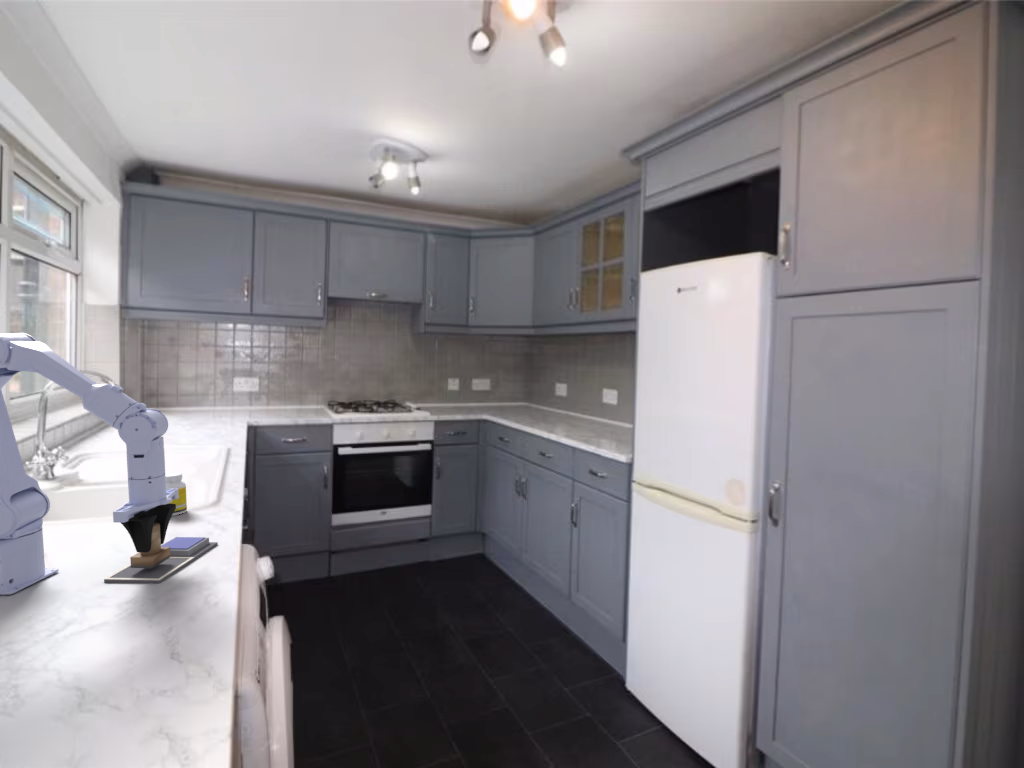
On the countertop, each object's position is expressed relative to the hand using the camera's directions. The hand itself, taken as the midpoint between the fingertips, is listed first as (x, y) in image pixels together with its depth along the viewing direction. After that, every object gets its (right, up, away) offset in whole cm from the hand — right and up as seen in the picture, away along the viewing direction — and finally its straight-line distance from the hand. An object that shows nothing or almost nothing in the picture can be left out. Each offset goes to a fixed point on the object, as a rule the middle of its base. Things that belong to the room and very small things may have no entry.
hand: (150, 547), depth 99 cm
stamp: (0, -3, 0) cm, 3 cm away
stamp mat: (0, -4, +4) cm, 6 cm away
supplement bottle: (-17, -2, +34) cm, 38 cm away
